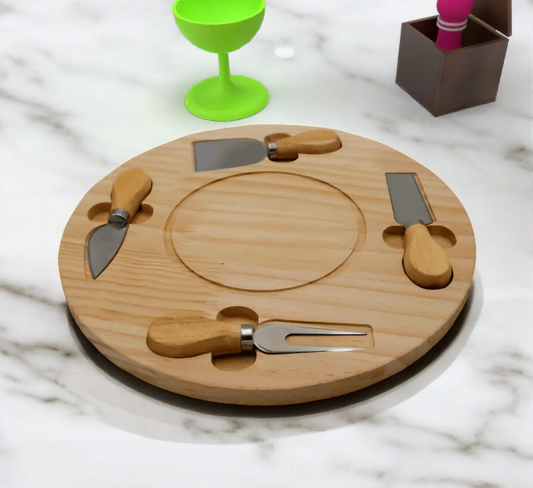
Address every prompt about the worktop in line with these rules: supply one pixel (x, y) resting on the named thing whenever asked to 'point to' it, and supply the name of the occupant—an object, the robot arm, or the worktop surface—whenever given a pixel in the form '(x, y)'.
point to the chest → (450, 65)
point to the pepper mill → (452, 22)
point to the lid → (494, 14)
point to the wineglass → (222, 55)
